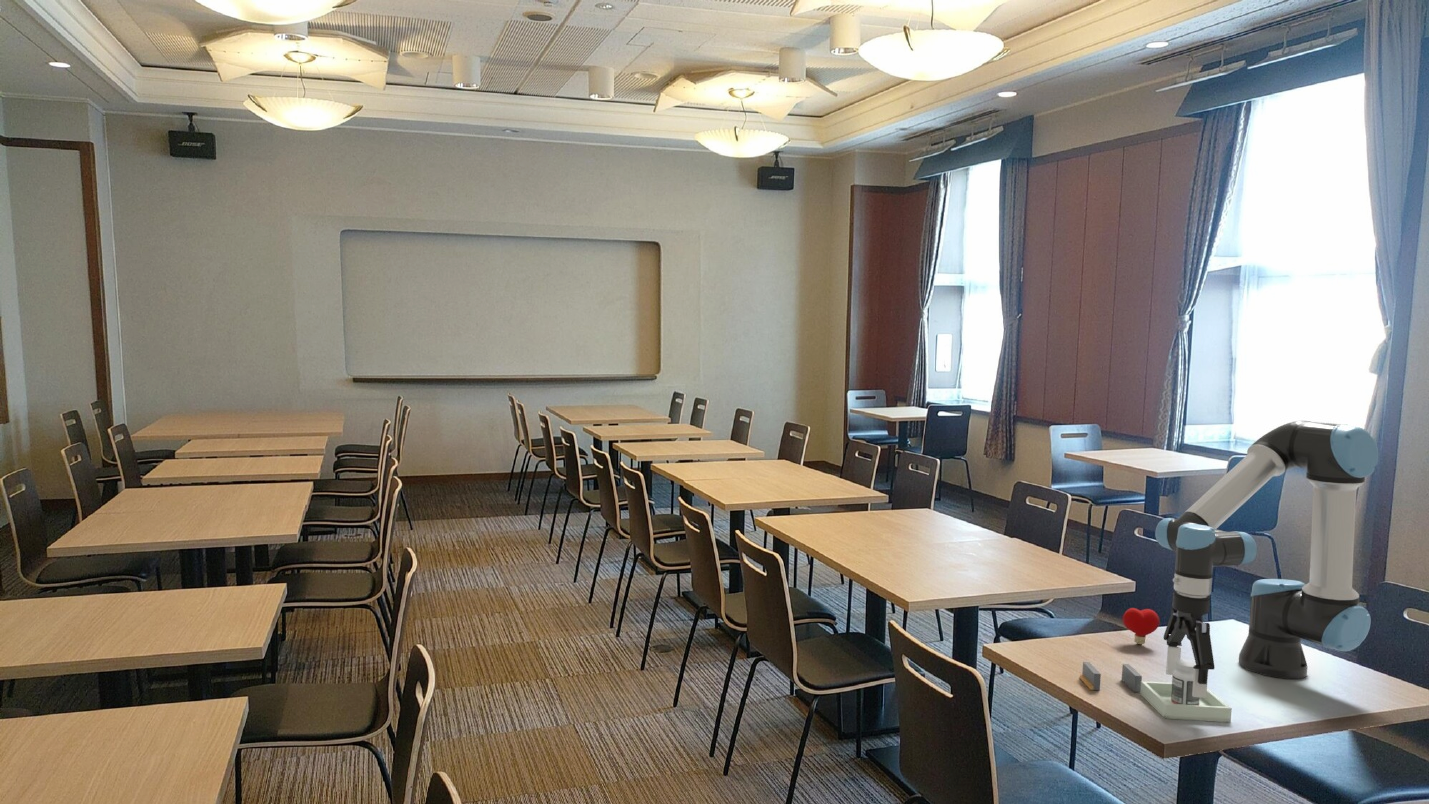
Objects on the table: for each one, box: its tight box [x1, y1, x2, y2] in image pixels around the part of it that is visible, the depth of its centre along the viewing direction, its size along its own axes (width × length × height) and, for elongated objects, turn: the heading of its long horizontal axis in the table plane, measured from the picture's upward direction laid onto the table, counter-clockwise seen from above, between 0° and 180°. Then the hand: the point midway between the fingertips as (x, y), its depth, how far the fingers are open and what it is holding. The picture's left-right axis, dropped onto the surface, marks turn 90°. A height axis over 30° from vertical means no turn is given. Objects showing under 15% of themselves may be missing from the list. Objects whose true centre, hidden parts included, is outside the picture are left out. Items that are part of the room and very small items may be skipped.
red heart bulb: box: [1122, 607, 1160, 646], centre depth 254 cm, size 9×7×10 cm
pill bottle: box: [1171, 658, 1200, 705], centre depth 210 cm, size 6×6×10 cm
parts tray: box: [1140, 681, 1232, 723], centre depth 211 cm, size 14×14×3 cm
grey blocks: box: [1079, 661, 1143, 693], centre depth 223 cm, size 12×8×4 cm, turn 86°
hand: (1185, 685), depth 210 cm, fingers open, 13 cm apart
